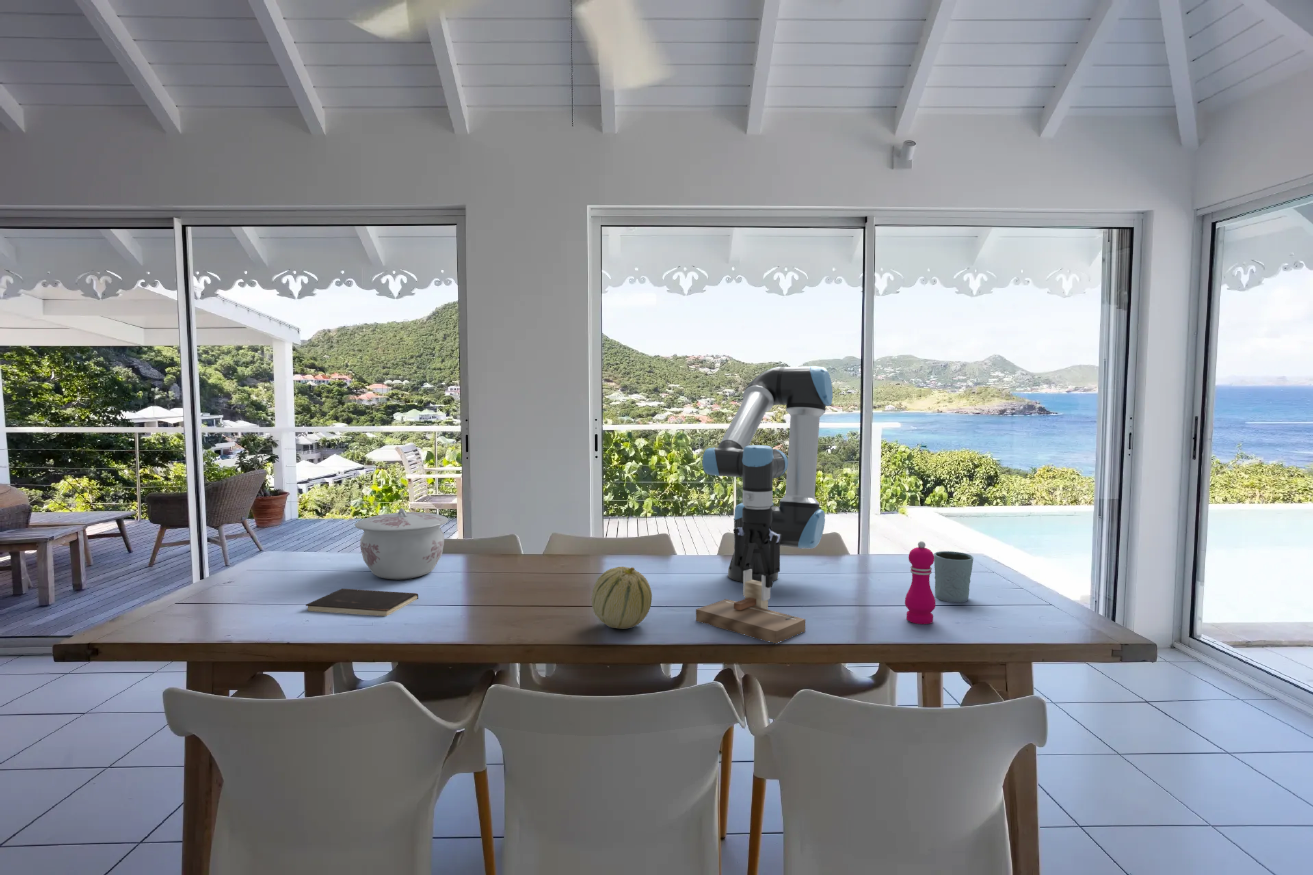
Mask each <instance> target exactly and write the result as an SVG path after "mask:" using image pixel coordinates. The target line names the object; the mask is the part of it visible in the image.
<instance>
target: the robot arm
mask: <svg viewBox="0 0 1313 875" xmlns="http://www.w3.org/2000/svg"><path fill="white" fill-rule="evenodd" d="M832 383H833V382H832V378H831V375H830V373H829V371H828V370H827V368H825V367H823V366H813V365H810V366H809V365H808V366H776V367H775V366H774V367H771V368H769V369H767V370H764V371H763V372H761V373H760V374H758V375H757V376H755V378H753V379H752V381H750V383H748V385H747V386H746V387H745V389H744V391H743V393H742V402H741V404H740V406H739V408H738V409H737V411H736V413H735V415H734V417H733V418H732V420H731V422H730V424H729V426H728V428H727V429H726V432H725V433H724V435H723V437H722V438H721V440H720V442H719V444H718V446H717V447H715V446H714V447H707V448H706V449H705V451H704V453H703V455H702V468H703V471H704V473H705V474H706V475H710V476H718V477H731V478H734V477H735V478H742V502H740V503H739V504H737V505H735V508H734V518H733V554H732V556H731V560H730V562H729V566H728V569H727V576H728V578H729V579H731V580H733V581H736V582H741V583H743V584H742V586H743V587H742V596H743V597H745V582H747V581H750V580H756V581H760V582H762V589H761V600H762V601H765V600H768V601H769V600H770V599H771V588H772V587H773V584H774V583H773V582H774V581H776V580H778V578H779V573H780V571H781V547H786V548H788V547H789V548H798V549H810V550H811V549H814V548H816V547H818V545H819V543H820V542H821V540H822V537H823V533H824V529H825V523H826V518H825V517H826V515H825V514H826V513H825V511H824V510H823V509H821V508H820V502H819V501H818V500H817V499H816V494H815V493H816V483H817V482H816V478H817V465H818V464H817V463H818V448H819V434H820V420H821V417H822V416H823V415H824V414H825V413H826V407H830V406H831V405H832V403H833V396H834V395H833V392H834V391H833V384H832ZM778 405H779V406H785V411H786V412H787V413H788V414H789V416H790V418H789V419H790V421H789V422H790V423H789V432H788V433H789V436H788V448H787V449H788V451H787V453H788V454H787V455H786V454H785V453H784V452H783V451H782V450H780V449H777V448H774V449H773V447H772V446H770V445H764V444H763V445H762V444H759V445H758V444H752V445H750V444H751V442H752V441H753V438H754V437H755V434H756V433H757V430H758V428H759V426H760V425H761V422H762V421H763V419H764V417H765V415H766V413H767V412H769V411H771V409H772V408H773V407H774V406H778ZM785 473H786V478H785V479H786V482H785V495H784V496H782V498H780V500H779V506H775V505H774V502H773V501H774V500H773V497H774V494H773V492H774V491H773V490H774V489H773V484H774V483H773V482H774V481H773V479H777V478H779V477H781V476H783V474H785Z"/></svg>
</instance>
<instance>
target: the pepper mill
mask: <svg viewBox="0 0 1313 875" xmlns="http://www.w3.org/2000/svg"><path fill="white" fill-rule="evenodd" d="M908 562H909V563H910V564H911V565H910V573H911V576H912V577H911V584H910V586H909V588H908V591H907V593H906V595H905V599H904V605H905V607H906V608H907V611H906V620H907V621H908V622H909V621H910V623H913V624H916V625H928V624H932V623H933V622H934V614H933V613H932V612H933V611H934V610H935V608H936V599H935V598H936V597H935V594H934V593H933V591H932V588H931V582H930V578H931V577H930V576H931V574H932V569H933V568H932V567H931V566H932V565H933V564H934V553H933V551H932V550H930V549H929V548H927V547H926V543H925V542H924V541H921V540H920V541H918V543H917V547H913V548H912V549H911V550H910V551H909V553H908Z"/></svg>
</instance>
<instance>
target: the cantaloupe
mask: <svg viewBox="0 0 1313 875" xmlns="http://www.w3.org/2000/svg"><path fill="white" fill-rule="evenodd" d="M652 598H653V593H652V588H651V586H650V583H649V582H648V580H647V578H646V577H645V576H644V575H643V574H642V573H641V572H639V571H637V570H635V567H633V566H632V567H627V566H617V567H613V568H609V569H607V570H606V571H604V572H603V573H602V574H601V575H599V577H598V578H597V579H596V582H595V583H594V586H593V588H592V593H591V607H592V610H593V612H594V614H595V616H596V617H597V618H598V619H599V621H600V622H602V623H603V624H605V625H606V626H608V627H609V628H613V629H619V630H627V629H630V628H634V627H636V626H637V625H639V624H641V623H642V622H643V621H644V620H645V619H646V617H647V615H648V614H649V612H650V610H651V606H652V602H653V601H652V600H653V599H652Z"/></svg>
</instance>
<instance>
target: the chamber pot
mask: <svg viewBox="0 0 1313 875" xmlns="http://www.w3.org/2000/svg"><path fill="white" fill-rule="evenodd" d="M449 520H450V519H449V518H448V517H447V516H445V515H443V514H442V515H441V514H437V513H432V512H421V511H419V512H418V511H416V512H415V511H409V512H408V511H406V510H405V509H404V508H399V509H398V512H391V513H383V514H379V515H378V514H377V515H373V516H369V517H367V518H366V517H365V518H363V519H361V520H357V521H356V523H354V527H355V528H357V529H360V530H362V531H363V534H362V536H361V537H360V539H359V541H360V542H359V544H360V546H359V547H360V552H361V556H362V558H363V561H364V563H365V564H366V566H367V567H368V568H369V570H370V572H371V573H372V574H373V575H374V576H376V577H378V578H382V579H385V580H391V581H392V580H393V581H400V580H403V581H405V580H411V579H415V578H419V577H423V576H426V575H427V574H429V573H431V572H433V570H434V569H435V568H436V565H438V562H439V560H440V559H441V557H442V555H443V551H444V545H445V533H444V531H442V530H443V529H441V526H442V525H445V524H447V523H448V522H449Z"/></svg>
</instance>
